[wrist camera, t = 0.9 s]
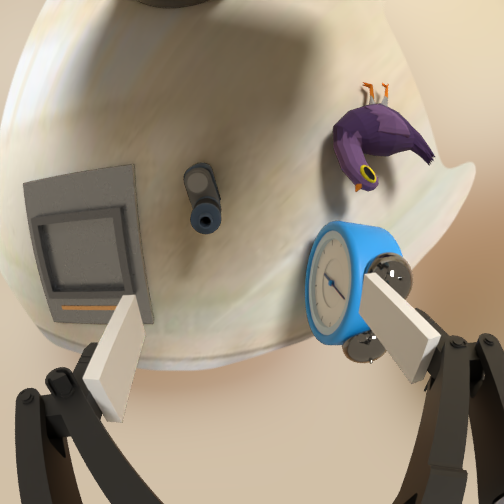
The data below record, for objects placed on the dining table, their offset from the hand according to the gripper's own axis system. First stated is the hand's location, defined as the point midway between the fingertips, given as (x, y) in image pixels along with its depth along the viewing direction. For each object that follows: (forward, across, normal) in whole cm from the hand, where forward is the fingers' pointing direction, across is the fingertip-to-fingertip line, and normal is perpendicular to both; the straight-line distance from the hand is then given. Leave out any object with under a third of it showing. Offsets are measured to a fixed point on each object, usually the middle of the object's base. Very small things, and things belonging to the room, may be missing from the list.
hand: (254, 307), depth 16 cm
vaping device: (+19, -3, +4) cm, 20 cm away
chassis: (+18, -19, -2) cm, 27 cm away
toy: (+19, +17, +10) cm, 28 cm away
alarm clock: (+19, +12, -6) cm, 23 cm away
